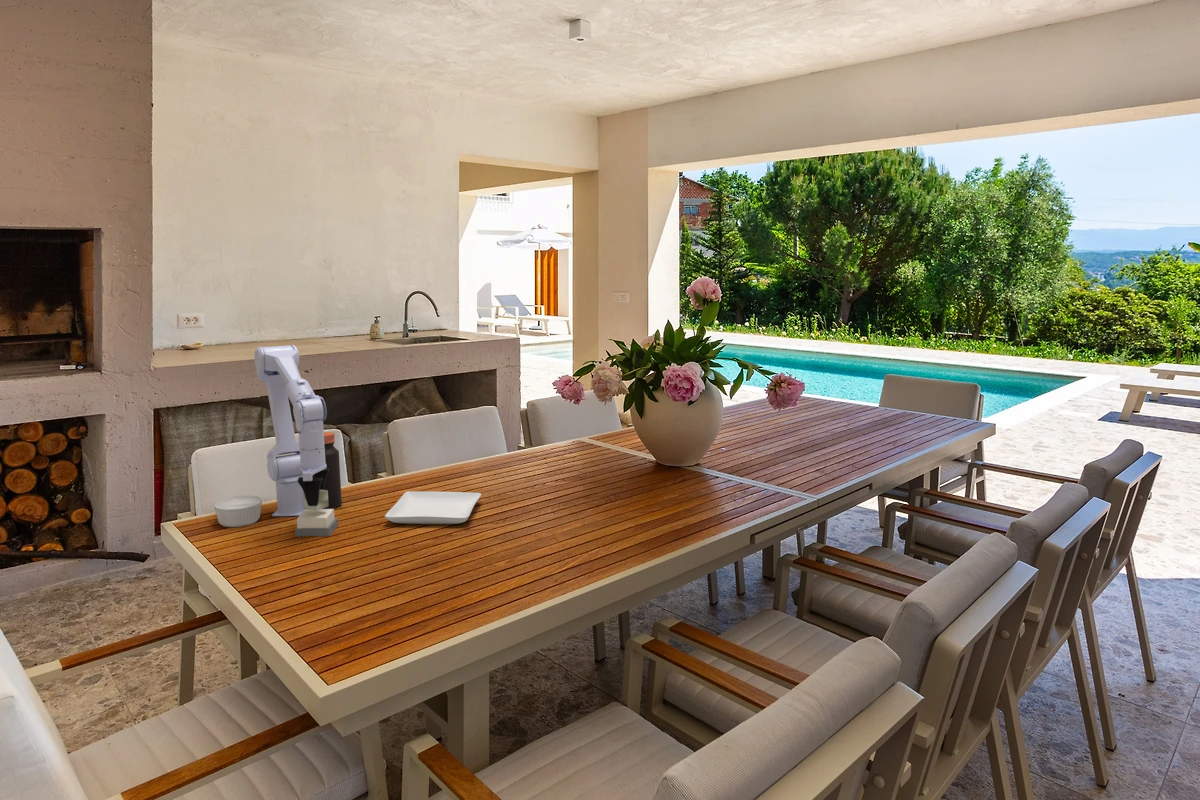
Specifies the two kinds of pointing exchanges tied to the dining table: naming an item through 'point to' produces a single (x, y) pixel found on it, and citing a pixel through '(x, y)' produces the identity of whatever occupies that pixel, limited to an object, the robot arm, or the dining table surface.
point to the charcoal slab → (317, 530)
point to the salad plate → (433, 507)
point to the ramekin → (238, 510)
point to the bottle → (332, 472)
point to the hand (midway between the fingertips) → (315, 501)
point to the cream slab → (315, 518)
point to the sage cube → (321, 503)
